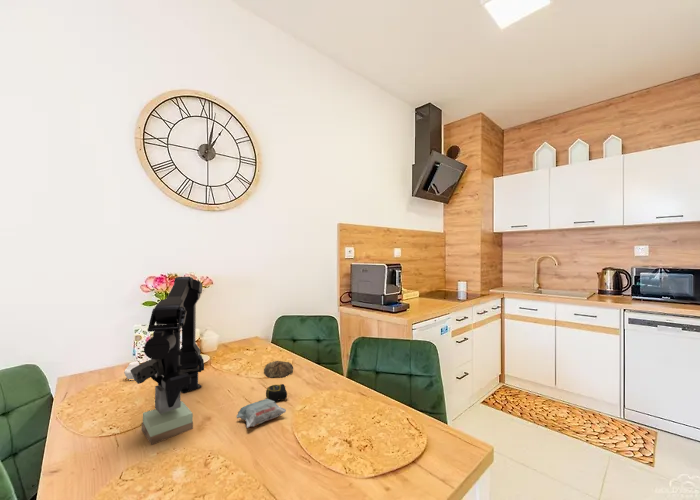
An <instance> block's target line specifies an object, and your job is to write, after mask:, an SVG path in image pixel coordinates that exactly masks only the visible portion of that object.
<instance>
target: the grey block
mask: <svg viewBox="0 0 700 500" xmlns="http://www.w3.org/2000/svg"><path fill="white" fill-rule="evenodd" d="M181 394H182V392H181V391H180V393H179V395H178V397H177V399H176V401H175V403H174V405H173V407H170V408H169V407H168V403H167V397H166V391H165V390H163V389H162V388H161V387H160V386H159V385H158V384H157V385H155V386H154V409H156V410H157V411H158V412H159V413H160V414H162V413H165V412H168V411H171V410H174V409H177V408H180V406H181V401H182V400H181V398H182V397H181V396H182V395H181Z"/></svg>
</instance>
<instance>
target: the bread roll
mask: <svg viewBox="0 0 700 500" xmlns="http://www.w3.org/2000/svg"><path fill="white" fill-rule="evenodd" d="M263 373H265V374H266V375H265V374H264V375H265V376H266V377H267V378H270V379H271V378H276V377H277V378H280V379H281V378H282V379H283V378H286V376H287V377H288V376H289V374H290V375H292V374H293V373H294V366H293V364H292V363H291V362H289V361H281V360H274V361H270V362H269V363H267V364H266V365H265V366H264V368H263Z"/></svg>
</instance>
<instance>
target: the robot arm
mask: <svg viewBox="0 0 700 500" xmlns="http://www.w3.org/2000/svg"><path fill="white" fill-rule="evenodd" d="M202 293H203V283H202V282H201V281H200V280H196V279H195V278H193V277H192V276H177V277H175V278H174V283H173V285H172V287H171V289H170V291H169V293H168V295H167V296H166V298H164V299H161V300H159V302H157V304H156V305H155V307H154V308H153V309H152V311H151V316H150V319H149V324H148V327H147V332H149V333H150V332H151V333H152V332H153V333H152V337H150V338H149V339H148V340H147V341H146V342H145V344H144V347H143V352H144V355H145V356H146V358H149V359H148V360H145V361H144V362H142V363H139V365H138V366H136V367H134V368H133V369H131V370H130V371H131V373H132V375H133V377H134V380H133V381H134V382H136V384H138V385H140V384H143V383H144V382H146V381H147V380H148V379H150V378H151V380H153V381H155V382H156V383H157V386H158V385H159V386H160V387H161V388H162V389H163V390H165V391H166V397H167V403H168V407H169V408H170V407H173V405H174V403H175V401H176V399H177V397H178V395H179V393H180V391H181V394H186V393H189V392H192V391H196V390H198V389H201V388H202V385H201V384H200V383H199V373H202V372H203V371H205V361H204V358H203V355H202V354H201V348H200V347H199V346H198V345H197V343H196V324H197V323H196V320H197V318H196V316H197V315H196V307H197V306H196V305H197V304H198V301H199V300H200V298H201V294H202Z"/></svg>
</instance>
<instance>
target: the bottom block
mask: <svg viewBox="0 0 700 500" xmlns="http://www.w3.org/2000/svg"><path fill="white" fill-rule="evenodd" d="M140 428H141V432H142V433H143V434H144V436H145V438H146V440H147V441H148V442H149V443H150V445H151V446H152V445H155V444H157V443H161V442H162V441H165V440H167V439H170V438H173V437H175V436H177V435H180V434H183V433H185V432H188V431H191V430H193V429H194V422H192V423H189V424H186V425H183V426H180V427H178V428H175V429H172V430H169V431H166V432H163V433H161V434H158V435H155V436H152V437H150V435H149V433H148V431H147V429H146V427H145V425H144V423H143V422H141V427H140Z"/></svg>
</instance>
